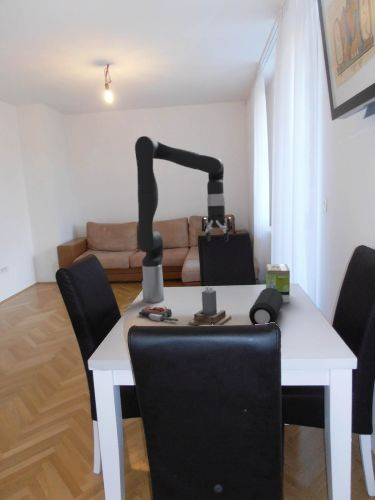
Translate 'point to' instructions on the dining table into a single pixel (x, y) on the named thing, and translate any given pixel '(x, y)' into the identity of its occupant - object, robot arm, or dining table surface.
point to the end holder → (209, 318)
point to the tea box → (279, 279)
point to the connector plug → (209, 301)
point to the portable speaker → (266, 307)
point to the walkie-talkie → (157, 313)
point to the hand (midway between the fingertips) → (217, 241)
